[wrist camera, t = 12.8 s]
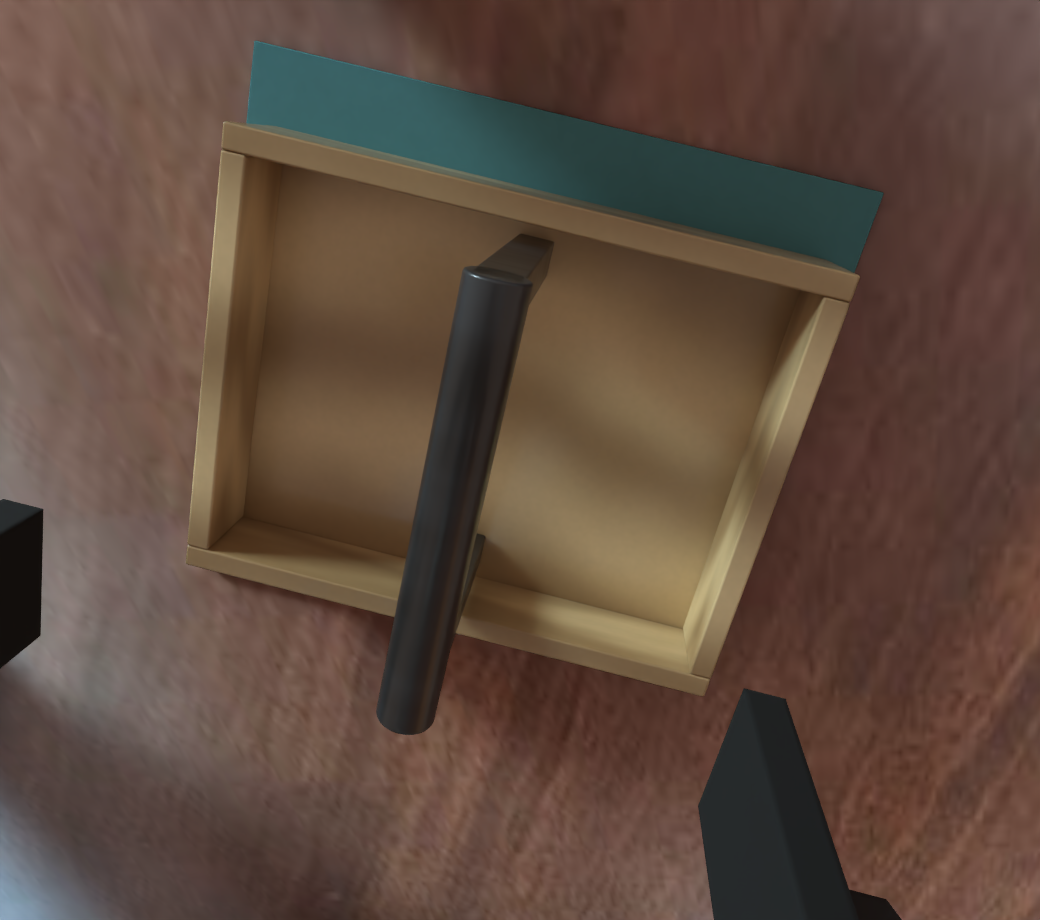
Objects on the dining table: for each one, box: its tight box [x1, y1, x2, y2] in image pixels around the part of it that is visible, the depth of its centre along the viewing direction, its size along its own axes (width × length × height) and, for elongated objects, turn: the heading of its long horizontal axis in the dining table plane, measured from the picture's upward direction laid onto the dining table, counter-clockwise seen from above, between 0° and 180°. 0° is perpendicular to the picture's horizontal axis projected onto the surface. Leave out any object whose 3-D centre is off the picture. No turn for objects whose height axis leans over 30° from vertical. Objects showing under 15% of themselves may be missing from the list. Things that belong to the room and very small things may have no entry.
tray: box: [186, 121, 860, 735], centre depth 25 cm, size 15×19×11 cm
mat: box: [247, 41, 883, 273], centre depth 30 cm, size 20×21×1 cm
